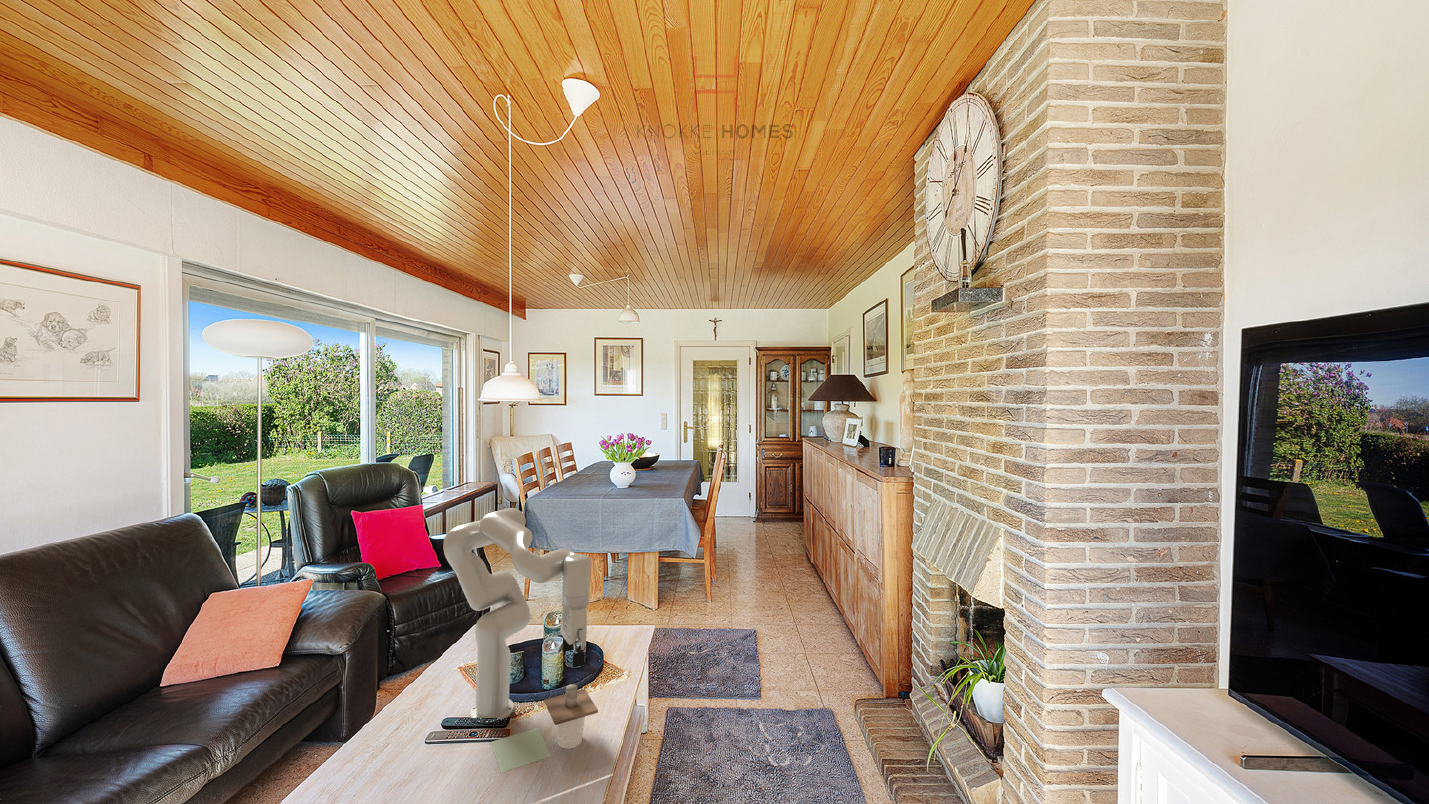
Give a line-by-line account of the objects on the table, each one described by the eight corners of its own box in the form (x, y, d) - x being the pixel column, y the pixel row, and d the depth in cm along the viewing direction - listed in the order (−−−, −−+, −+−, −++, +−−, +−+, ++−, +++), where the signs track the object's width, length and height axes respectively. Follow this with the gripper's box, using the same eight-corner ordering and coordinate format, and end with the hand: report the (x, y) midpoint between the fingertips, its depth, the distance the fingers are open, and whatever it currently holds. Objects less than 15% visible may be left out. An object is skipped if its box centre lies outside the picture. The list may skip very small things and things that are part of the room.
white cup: (576, 753, 144) (577, 717, 144) (550, 748, 146) (552, 713, 146) (588, 735, 152) (590, 701, 152) (564, 731, 154) (565, 697, 154)
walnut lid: (544, 702, 151) (545, 682, 151) (584, 691, 157) (585, 672, 157) (555, 725, 141) (556, 704, 141) (597, 712, 147) (598, 692, 147)
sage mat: (491, 743, 147) (491, 741, 147) (538, 729, 154) (538, 727, 154) (500, 774, 135) (500, 772, 135) (550, 757, 142) (551, 756, 142)
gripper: (554, 590, 154) (551, 647, 154) (571, 612, 139) (569, 675, 140) (579, 586, 158) (576, 642, 158) (598, 607, 143) (595, 669, 144)
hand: (573, 658), depth 149 cm, fingers open, 9 cm apart
